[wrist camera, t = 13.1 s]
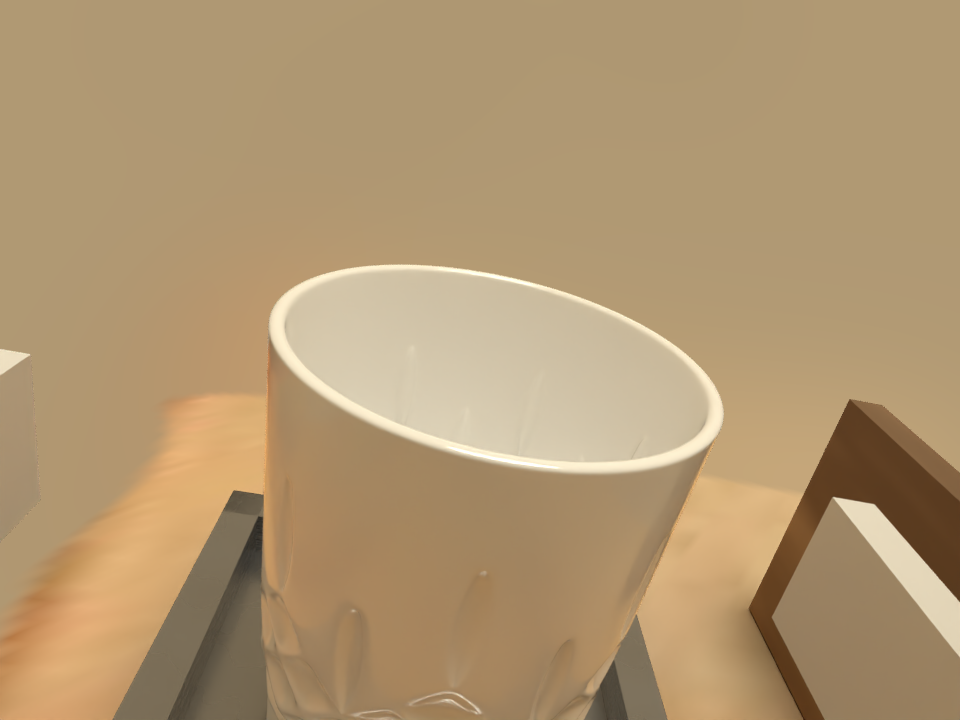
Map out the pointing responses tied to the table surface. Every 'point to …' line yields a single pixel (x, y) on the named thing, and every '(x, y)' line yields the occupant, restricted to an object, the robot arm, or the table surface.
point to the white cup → (463, 493)
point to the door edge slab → (876, 480)
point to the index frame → (240, 658)
